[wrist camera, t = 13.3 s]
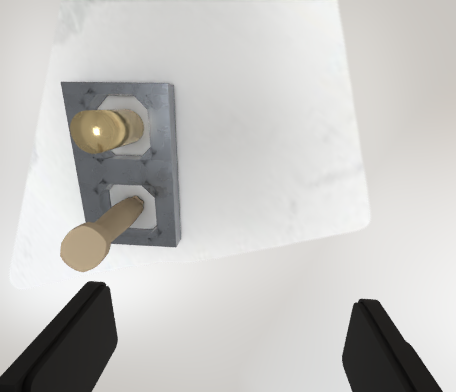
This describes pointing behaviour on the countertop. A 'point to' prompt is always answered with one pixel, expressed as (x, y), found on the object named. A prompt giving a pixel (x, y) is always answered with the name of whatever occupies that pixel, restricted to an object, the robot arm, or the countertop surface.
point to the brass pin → (105, 129)
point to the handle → (98, 235)
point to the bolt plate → (131, 159)
